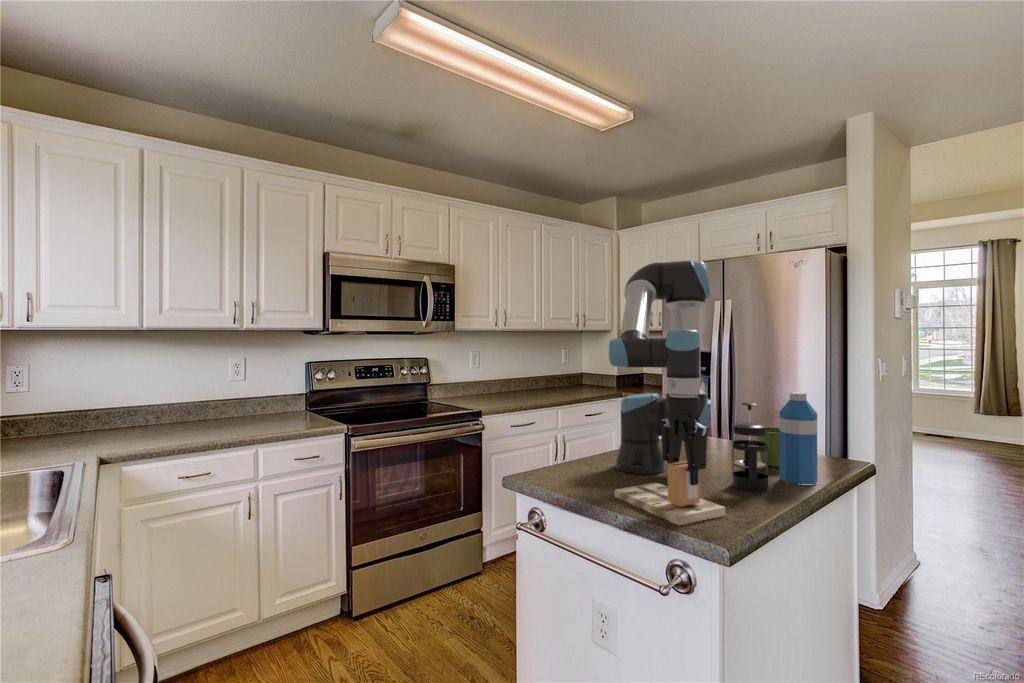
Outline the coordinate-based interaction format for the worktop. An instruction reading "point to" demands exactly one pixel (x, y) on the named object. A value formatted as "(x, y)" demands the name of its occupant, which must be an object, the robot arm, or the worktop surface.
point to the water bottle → (798, 441)
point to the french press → (750, 457)
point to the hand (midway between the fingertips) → (683, 495)
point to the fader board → (668, 504)
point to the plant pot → (771, 446)
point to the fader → (680, 484)
